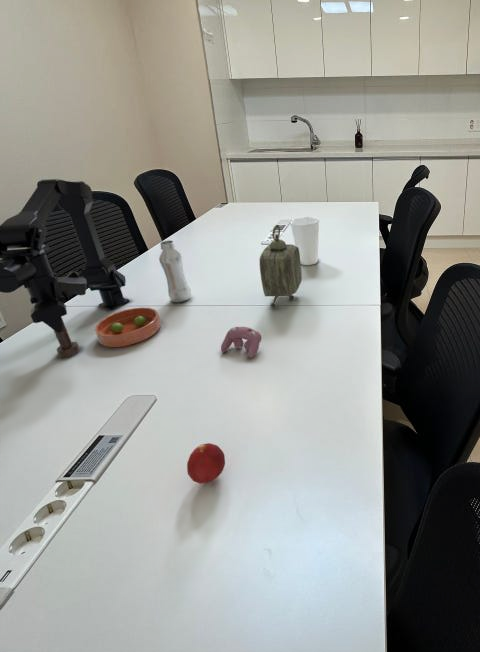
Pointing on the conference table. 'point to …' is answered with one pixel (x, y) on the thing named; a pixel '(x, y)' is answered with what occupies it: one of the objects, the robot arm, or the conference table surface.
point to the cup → (306, 238)
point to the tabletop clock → (280, 269)
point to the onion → (205, 463)
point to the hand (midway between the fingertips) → (60, 329)
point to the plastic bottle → (174, 272)
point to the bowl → (128, 327)
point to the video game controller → (237, 336)
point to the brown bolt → (66, 344)
